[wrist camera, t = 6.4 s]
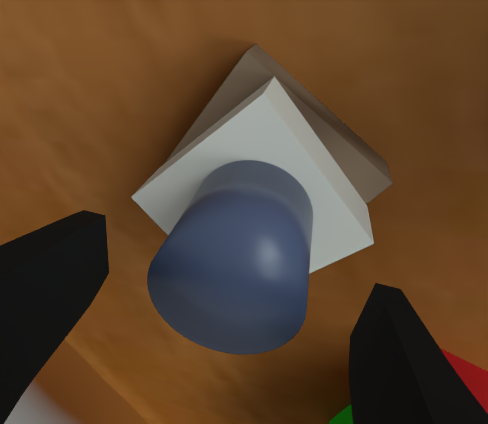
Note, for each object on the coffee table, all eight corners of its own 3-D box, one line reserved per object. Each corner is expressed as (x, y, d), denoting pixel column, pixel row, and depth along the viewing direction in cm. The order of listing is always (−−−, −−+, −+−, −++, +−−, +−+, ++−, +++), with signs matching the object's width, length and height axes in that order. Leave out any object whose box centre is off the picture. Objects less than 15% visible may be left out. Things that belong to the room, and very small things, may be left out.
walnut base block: (384, 156, 16) (392, 183, 13) (276, 248, 19) (270, 280, 17) (258, 42, 14) (246, 51, 12) (168, 163, 18) (146, 187, 16)
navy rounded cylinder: (338, 202, 11) (341, 291, 8) (272, 279, 14) (254, 373, 10) (228, 136, 11) (183, 202, 8) (178, 225, 13) (127, 307, 10)
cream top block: (367, 206, 14) (374, 243, 12) (248, 267, 17) (237, 306, 15) (274, 76, 12) (263, 93, 10) (158, 168, 15) (131, 197, 13)
